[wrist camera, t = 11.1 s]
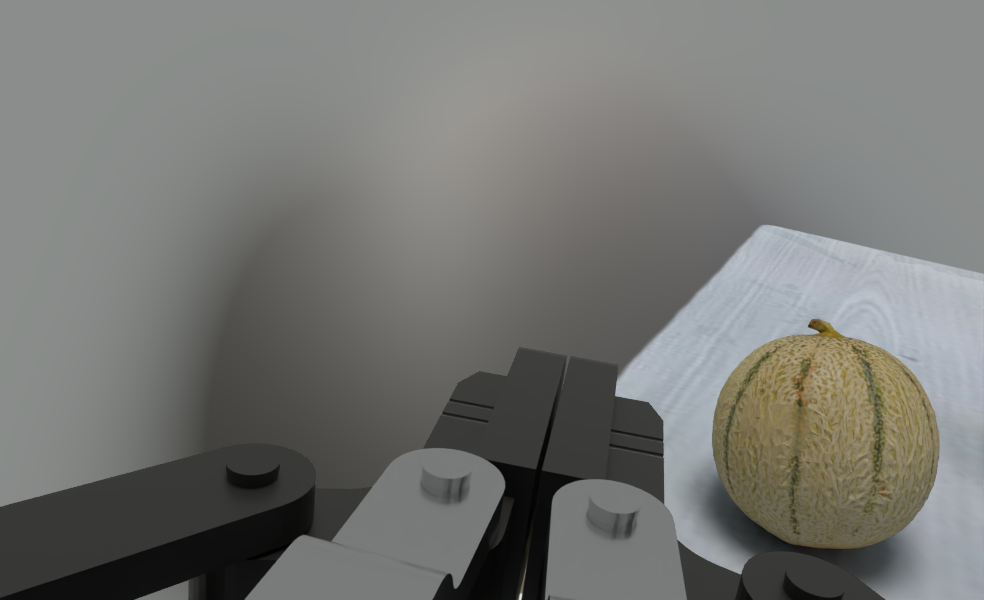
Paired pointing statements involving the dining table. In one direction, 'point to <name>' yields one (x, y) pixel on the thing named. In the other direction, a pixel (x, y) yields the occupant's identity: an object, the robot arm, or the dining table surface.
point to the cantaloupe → (826, 440)
